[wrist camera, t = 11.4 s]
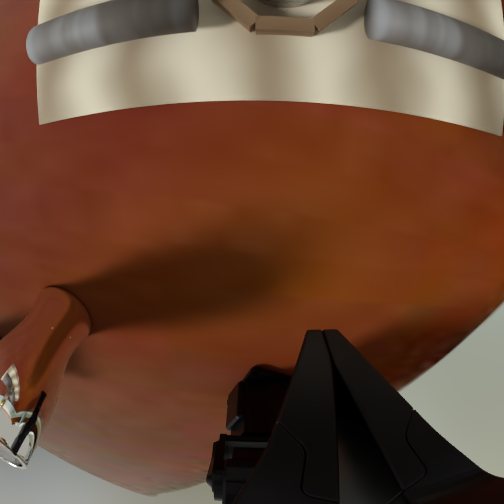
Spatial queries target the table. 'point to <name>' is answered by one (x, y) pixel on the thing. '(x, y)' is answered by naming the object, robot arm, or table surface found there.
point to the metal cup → (284, 3)
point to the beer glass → (36, 370)
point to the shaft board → (273, 55)
